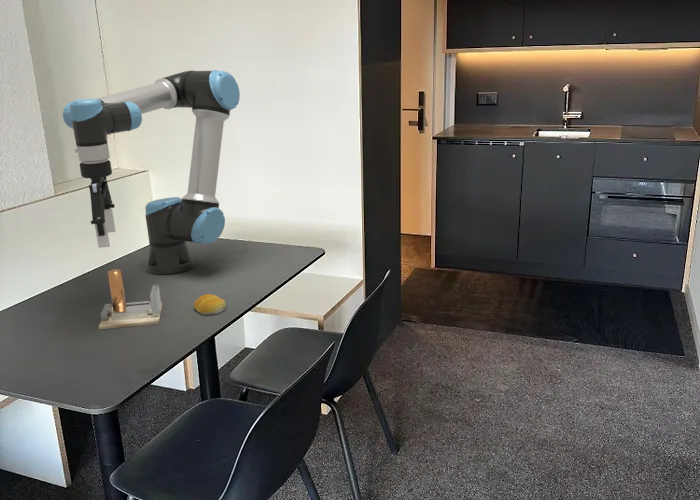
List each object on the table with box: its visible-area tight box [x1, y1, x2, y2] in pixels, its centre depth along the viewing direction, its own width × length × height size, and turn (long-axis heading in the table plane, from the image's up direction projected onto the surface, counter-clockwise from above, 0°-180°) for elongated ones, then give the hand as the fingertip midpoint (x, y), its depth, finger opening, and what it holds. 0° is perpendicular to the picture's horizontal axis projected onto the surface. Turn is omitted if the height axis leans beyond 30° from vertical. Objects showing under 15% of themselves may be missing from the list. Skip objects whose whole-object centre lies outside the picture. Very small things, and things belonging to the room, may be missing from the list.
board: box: [98, 301, 163, 330], centre depth 175 cm, size 14×15×1 cm
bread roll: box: [193, 293, 227, 316], centre depth 179 cm, size 8×9×4 cm
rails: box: [100, 300, 151, 321], centre depth 174 cm, size 7×12×2 cm, turn 101°
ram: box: [107, 268, 162, 316], centre depth 173 cm, size 8×12×12 cm, turn 101°
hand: (107, 239), depth 172 cm, fingers open, 13 cm apart
